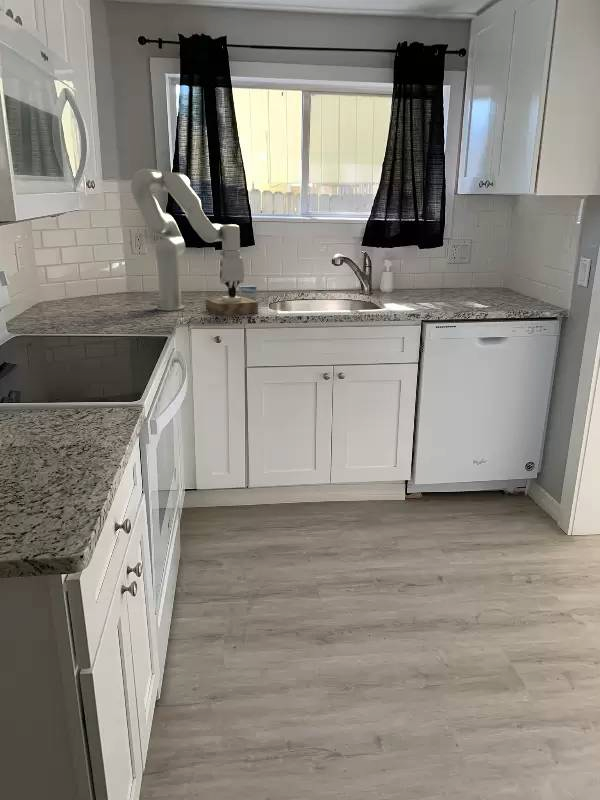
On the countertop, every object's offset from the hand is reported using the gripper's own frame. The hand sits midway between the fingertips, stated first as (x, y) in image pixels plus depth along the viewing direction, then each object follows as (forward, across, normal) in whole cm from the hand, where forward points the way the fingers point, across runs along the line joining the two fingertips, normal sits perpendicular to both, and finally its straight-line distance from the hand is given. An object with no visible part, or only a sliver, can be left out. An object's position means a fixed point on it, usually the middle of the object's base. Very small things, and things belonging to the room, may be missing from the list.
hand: (232, 296), depth 271 cm
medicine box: (+7, +15, +15) cm, 22 cm away
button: (+6, 0, 0) cm, 6 cm away
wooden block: (+7, 0, 0) cm, 7 cm away
